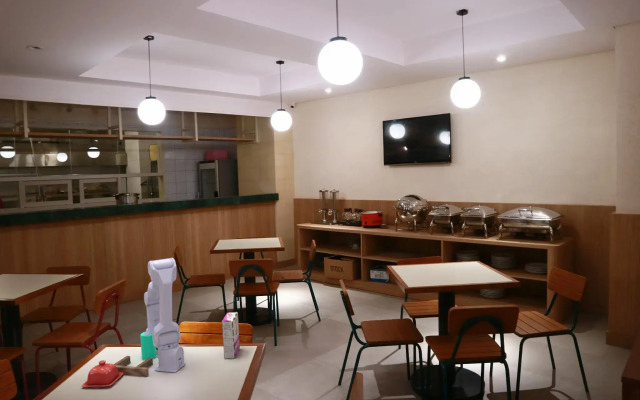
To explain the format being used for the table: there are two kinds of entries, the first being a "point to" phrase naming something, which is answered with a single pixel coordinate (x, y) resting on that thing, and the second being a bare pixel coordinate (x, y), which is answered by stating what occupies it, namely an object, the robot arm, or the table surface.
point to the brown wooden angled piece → (134, 371)
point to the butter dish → (102, 375)
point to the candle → (147, 346)
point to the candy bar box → (230, 335)
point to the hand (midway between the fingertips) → (156, 349)
